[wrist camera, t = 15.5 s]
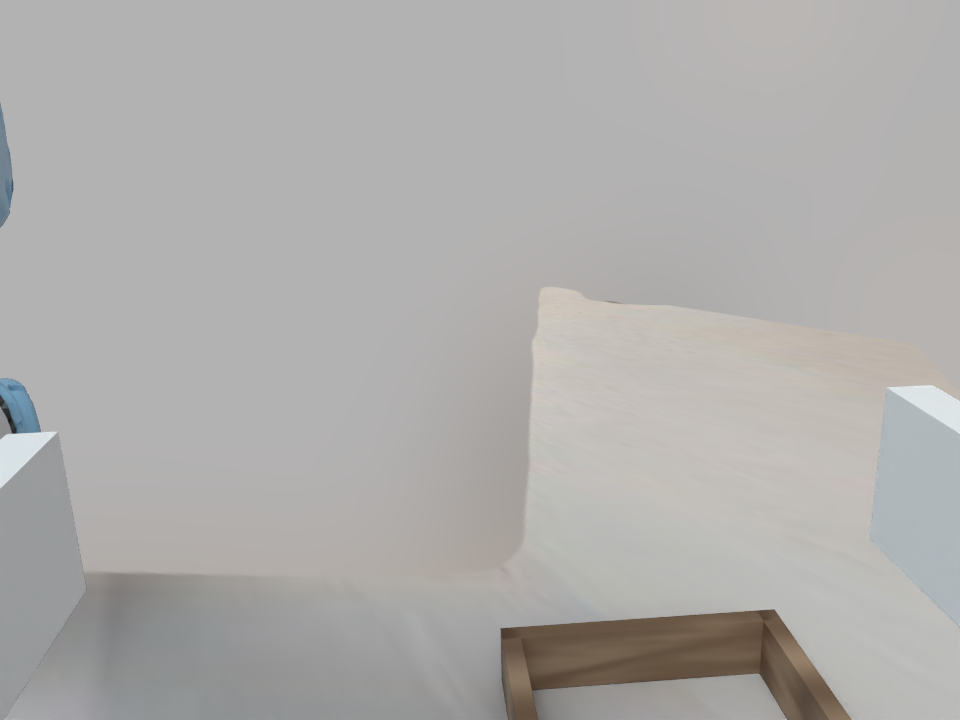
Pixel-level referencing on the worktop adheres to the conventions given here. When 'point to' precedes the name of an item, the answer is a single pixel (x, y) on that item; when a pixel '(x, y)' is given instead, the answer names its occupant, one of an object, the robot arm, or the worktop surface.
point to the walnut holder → (664, 658)
